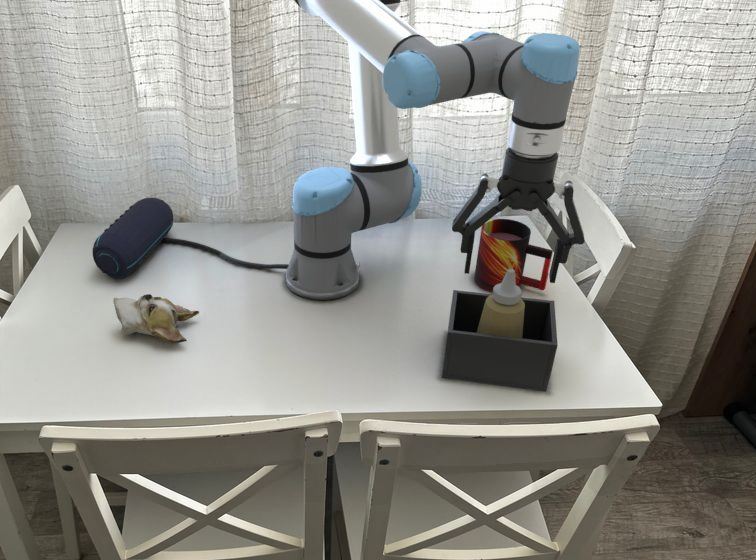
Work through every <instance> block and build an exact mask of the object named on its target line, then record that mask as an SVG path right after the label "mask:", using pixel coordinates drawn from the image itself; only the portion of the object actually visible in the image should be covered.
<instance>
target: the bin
mask: <svg viewBox="0 0 756 560" xmlns="http://www.w3.org/2000/svg"><path fill="white" fill-rule="evenodd" d="M492 294H493V293H486V292H485V293H484V292H477V291H467V290H458V289H453V290H452V297H451V304H450V312H449V319H448V326H447V334H446V341H445V349H444V356H443V357H444V358H443V365H442V366H443V367H442V372H441V373H442V374H441V378H442V379H448V380H455V381H456V380H457V381H463V382H470V383H476V384H486V385H493V386H500V387H507V388H516V389H523V390H529V391H530V390H532V391H538V392H545V393H547V390H548V387H549V383H550V379H551V374H552V371H553V366H554V363H555V359H556V355H557V350H558V347H559V346H558V344H559V343H558V331H557V318H556V305H555V300H548V299H540V298H530V297H522V296H521V299H522V300H523V302H524V303H525V310H524V322H523V335H522V338H514V337H506V336H497V335H489V334H481V333H477V329H478V326H479V322H480V319H481V315H482V312H483V308H484V305H485V301H486V299H487V298H488V296H490V295H492Z"/></svg>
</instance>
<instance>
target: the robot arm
mask: <svg viewBox="0 0 756 560" xmlns="http://www.w3.org/2000/svg"><path fill="white" fill-rule="evenodd" d="M293 1H294V3H296V5H298V7H299V8H301V9H302V11H304V12H305V13H306V14H308V15H311V16H315V17H319V18H321V19H322V20H323V21H324V22H326V24H328V26H330V27H331V28H332V29H333V30H334V31H336V32H337V33H338V34H339V36H340V37H342V38H343V39H344V40H345V41H346V42H347V48H348V59H349V71H350V85H351V96H352V97H351V98H352V109H353V123H354V124H353V125H354V136H355V147H356V148H355V149H356V151H355V153H354V155H353V156H352V157H351V158H350V160H349V166H350V167H349V168H350V171H349V170H348V169H346V168H344V167H340V166H331V167H328V166H321V167H316V168H314V169H311V170H309V171H307V172H305V173H303V174H302V175H300V176H299V177H298V178H297V180H296V181H295V183H294V185H293V189H292V200H291V207H292V219H293V221H292V223H293V224H292V225H293V251H292V254H291V256H290V259H289V263H273V264H272V263H270V264H269V263H267V264H266V263H257V262H249V261H246V260H245V261H244V260H240V259H237V258H234V257H231V256H230V255H227V254H226V253H224V252H222V251H220V250H218V249H216V248H213V247H211V246H209V245H205V244H203V243H200V242H196V241H191V240H186V239H180V238H172V237H165V238H164V239H163V240H162V241H161V242H160V243H172V244H180V245H185V246H191V247H195V248H199V249H201V250H204V251H207V252H210V253H212V254H214V255H216V256H219V257H220V258H222V259H224V260H226V261H227V262H229V263H232V264H236V265H239V266H242V267H248V268H255V269H264V270H275V269H276V270H277V269H278V270H286V272H285V280H286V281H285V283H286V286H287V288H288V289H289V290H290V291H291V292H292V293H294V294H295V295H297V296H298V297H302V298H304V299H309V300H314V301H315V300H316V301H328V300H329V301H330V300H337V299H340V298H343V297H346V296H348V295H349V294H351V293H353V292H354V291H355V290H356V289H357V288H358V286H359V281H360V272H359V269H360V267H361V261H359V262H358V265H357V263H356V259H355V256H354V254H353V250H352V234H354V233H357V232H360V231H364V230H368V229H371V228H377V227H379V226H383V225H386V224H394V223H398V221H401V220H403V219H404V220H405V219H406V218H408V217H410V216H411V215H413V213H414V212H415V211H416V210H417V209H418V207H419V204H420V202H421V197H422V189H423V188H422V187H423V186H422V184H423V183H422V178H421V175H420V174H418V172H419V170H418V168H417V166H416V165H415V163H413V162H412V161H409V155H408V153H407V152H405V150H404V149H403V148H401V145H400V144H401V143H400V127H399V126H400V125H399V109H401V110H407V109H422V108H425V107H428V106H433V105H437V104H443V103H446V102H450V101H455V100H460V99H461V100H462V99H466V98H471V97H476V96H481V95H484V94H485V95H487V94H496V95H499V96H501V97H503V98H506V99H508V100H511V101H513V107H512V112H511V118H510V123H509V129H508V136H507V141H506V142H507V144H506V145H507V146H508V147H507V148H506V149H505V154H504V160H503V167H502V172H501V174H500V177H499V178H494V177H490V176H489V174H487V173H482V174H481V175H480V177H479V182H478V185H477V187H476V188H475V190H474V191H473V192H472V194H471V196H470V197H469V198H468V200H467V201H466V202H465V204H464V205H463V207H461V208H460V210H459V212H458V213H457V214H456V216H455V218H454V219H453V220H452V226H451V230H452V232H454V233H459V234H461V236H462V237H461V244H460V253H461V254H466V258H465V266H464V274H468V275H469V274H470V271H471V263H472V256H473V251H474V245H475V244H474V243H475V237H476V231H477V230H479V229H480V228H482V225H483V224H485V223H486V222H487V221H490V220H492V218H493V217H495V216H496V215H497V214H498V213H500V212H501V213H502V212H503V211H504V210H505V209H506V208H507V207H508V208H510V209H511V210H514V211H518V210H523V211H526V212H533V211H535V210H538V211H539V213H540V214H541V216H543V218H544V219H545V221H546V222H547V224H548V225H549V226H550V228H551V229H552V230H553V232H554V233H555V236H557V239H556V243H555V248H554V250H553V255H552V259H551V263H550V268H549V272H548V273H549V274H548V277H549V283H550V284H555V283H556V279H557V276H558V272H559V271H558V270H559V266H560V264H564V265H565V264H566V263H567V262H568V259H569V254H570V252H571V251H570V250H571V249H572V247H573V246H574V245H580V246H581V245H584V243H585V234H584V230H583V227H582V223H581V220H580V217H579V213H578V211H577V208H576V204H575V200H574V183H573V181H571V180H567V181H565V182H564V183H555V182H554V179H555V174H556V170H557V166H558V160H559V153H558V152H559V151H560V150H561V145H562V140H563V136H564V130H565V126H566V122H567V116H568V115H567V114H568V111H569V105H570V101H571V97H572V94H573V90H574V86H575V82H576V78H577V77H578V66H579V59H580V53H581V50H580V49H581V47H580V43H579V41H577V40H576V38H574V37H571V36H569V35H565V34H558V33H552V32H551V33H546V32H544V33H536V34H532V35H530V36H528V37H527V38H526V39H525V41H524V42H520V41H518V40H515V39H512V38H509V37H506V36H504V34H500V33H498V32H490V31H489V32H488V31H485V30H484V31H481V30H480V31H475V32H473V33H472V34H471V35H470V36H468V37H466V39H464V40H463V41H462V42H459V43H452V44H445V45H435V44H434V43H433V42H431V41H430V40H429V39H427V38H426V37H425V36H423V35H422V34H421V33H420V32H419V31H417V30H416V29H415V28H414V27H412V26H411V25H410V24H409V23H408V22H406V21H405V20H404V19H403V18H402V17H400V16H399V15H398V14H396V11H397V10H398V8H399V7H400V6H401V0H293ZM495 188H496V189H497V191H498V193H499V194H498V195H496V197H495V198H494V200H492V201H491V202H490V203H489V204H487V205H486V206H485V207H484V208H483V209H481V210H480V211H479V212H478V213H476V214H475V215H474V216H473V217H472V218H471V219H470V217H471V215H472V214H473V213H474V212H475V210H476V209H477V207H478V206H479V205H480V203H481V201H482V200H483V199H484V197H485V196H486V194H487V193H490V192H491V191H492V190H493V189H495ZM555 193H556V194H557V195H558V198H559V199H561V200H563V202H564V207H565V211H566V213H567V217H568V220H569V223H570V226H571V229H572V233H570V232H569V231H568V229H567V227H566V226H565V224H564V223H563V222H562V220H561V219H560V217H559V216H558V214H557V213H556V212H555V210H554V208H553V207H552V205H551V204H550V202H549V200H548V199H550V198H551V197H552V196H553V195H554V194H555ZM468 219H469V220H468Z"/></svg>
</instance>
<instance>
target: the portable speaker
mask: <svg viewBox="0 0 756 560" xmlns="http://www.w3.org/2000/svg"><path fill="white" fill-rule="evenodd" d="M173 212H174V211H173V210H172V208H171V206H170V205H169V204H168V203H167V202H165V200H163V199H161V198H159V197H144V198H142V199H139V200H137V201H136V202H135V203H133V204H131V205H130V206H129V208H128V209H126V210H125V211H124V212H123V213H122V214H120V215H119V217H118V218H116V219H115V220H114V222H113V223H110V224H109V227H108V228H105V229H104V230H103V232H102V233H101V234H100V235H99V236H98V237H96V239H95V241H94V242H93V246H92V258H93V262H94V263H95V265H96V267H97V268H98V269H99V270H100V271H101V272H102V273H103V274H105V275H106V276H108V277H109V278H113V279H123V278H125V277H127V276H129V275H130V274H132V273H134V271H135V270H136V269H137V268H138V267H139V266H140V265H141V263H143V262H144V261H145V259H146V258H147V257H148V256H149V255H150V254H151V253H152V252H153V251H154V250H155V249H156V247H157V246H158V245H159V244H160V243H162V242H161V241H162V240H163V239H164V238H166V237H167V236H168V234H169V233H170V231H171V230H172V227H173V226H174V213H173Z"/></svg>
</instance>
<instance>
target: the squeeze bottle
mask: <svg viewBox="0 0 756 560" xmlns="http://www.w3.org/2000/svg"><path fill="white" fill-rule="evenodd" d="M491 294H492V295H490V296H488V298H487V299H486V301H485V305H484V308H483V312H482V315H481V319H480V322H479V326H478V329H477V333H481V334H489V335H497V336H506V337H514V338H522V335H523V322H524V310H525V303H524V302H523V300H522V299H521V297H522V294H523V293H522V289H521V286H520V287H518V286H517V285H516V283H515V270H513V269H508V270H507V272H506V275H505V277H504V279H503V281H502V283H499V284H497V285H495V286H494V288H493V292H492V293H491Z"/></svg>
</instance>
